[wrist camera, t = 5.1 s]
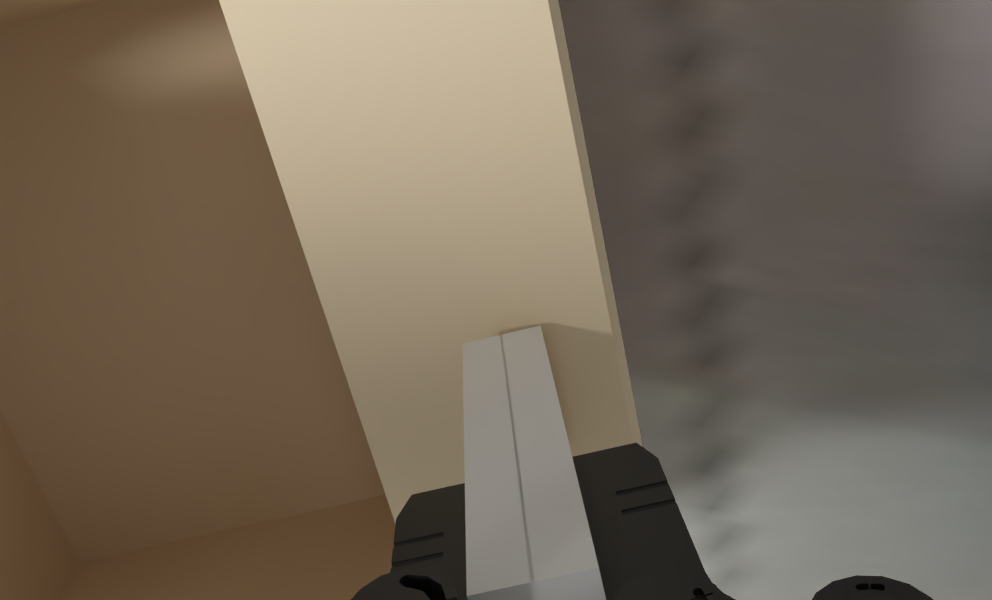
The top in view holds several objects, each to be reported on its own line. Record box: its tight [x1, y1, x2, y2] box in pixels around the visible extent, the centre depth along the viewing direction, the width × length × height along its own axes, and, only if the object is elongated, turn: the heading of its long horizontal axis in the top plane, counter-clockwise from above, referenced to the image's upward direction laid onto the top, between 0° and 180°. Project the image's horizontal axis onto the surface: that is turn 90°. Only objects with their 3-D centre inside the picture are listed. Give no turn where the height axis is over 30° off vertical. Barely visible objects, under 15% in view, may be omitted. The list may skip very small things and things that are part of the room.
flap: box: [219, 0, 643, 524], centre depth 16 cm, size 1×17×6 cm
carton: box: [0, 0, 395, 600], centre depth 23 cm, size 15×21×9 cm
